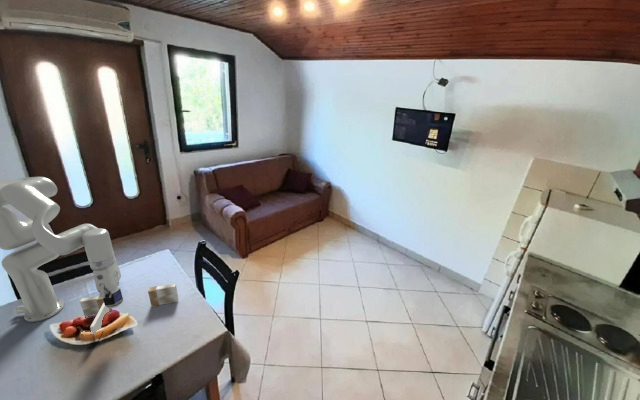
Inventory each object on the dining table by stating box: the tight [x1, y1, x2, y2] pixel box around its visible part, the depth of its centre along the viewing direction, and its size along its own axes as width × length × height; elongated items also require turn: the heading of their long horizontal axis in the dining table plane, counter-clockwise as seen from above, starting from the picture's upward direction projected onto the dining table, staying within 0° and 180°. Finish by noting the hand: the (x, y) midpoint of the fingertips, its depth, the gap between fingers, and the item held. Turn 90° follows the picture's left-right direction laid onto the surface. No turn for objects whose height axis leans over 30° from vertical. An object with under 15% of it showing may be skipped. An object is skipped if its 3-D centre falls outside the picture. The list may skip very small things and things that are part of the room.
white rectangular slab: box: [89, 303, 109, 334], centre depth 109 cm, size 14×2×8 cm, turn 20°
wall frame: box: [79, 283, 179, 318], centre depth 121 cm, size 36×3×9 cm, turn 109°
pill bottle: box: [105, 284, 124, 309], centre depth 104 cm, size 6×6×10 cm
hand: (113, 298), depth 105 cm, fingers closed on pill bottle, 5 cm apart
